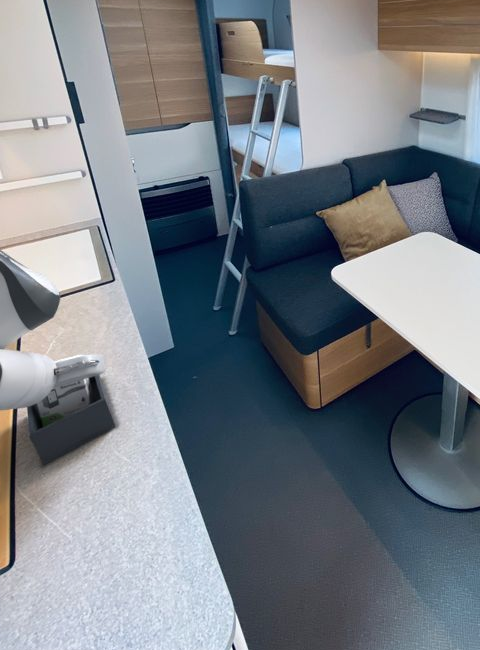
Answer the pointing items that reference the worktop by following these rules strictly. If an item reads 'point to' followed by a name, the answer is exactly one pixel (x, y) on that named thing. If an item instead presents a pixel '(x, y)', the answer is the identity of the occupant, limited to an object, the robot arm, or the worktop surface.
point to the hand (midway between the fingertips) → (56, 380)
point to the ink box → (65, 399)
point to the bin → (71, 425)
